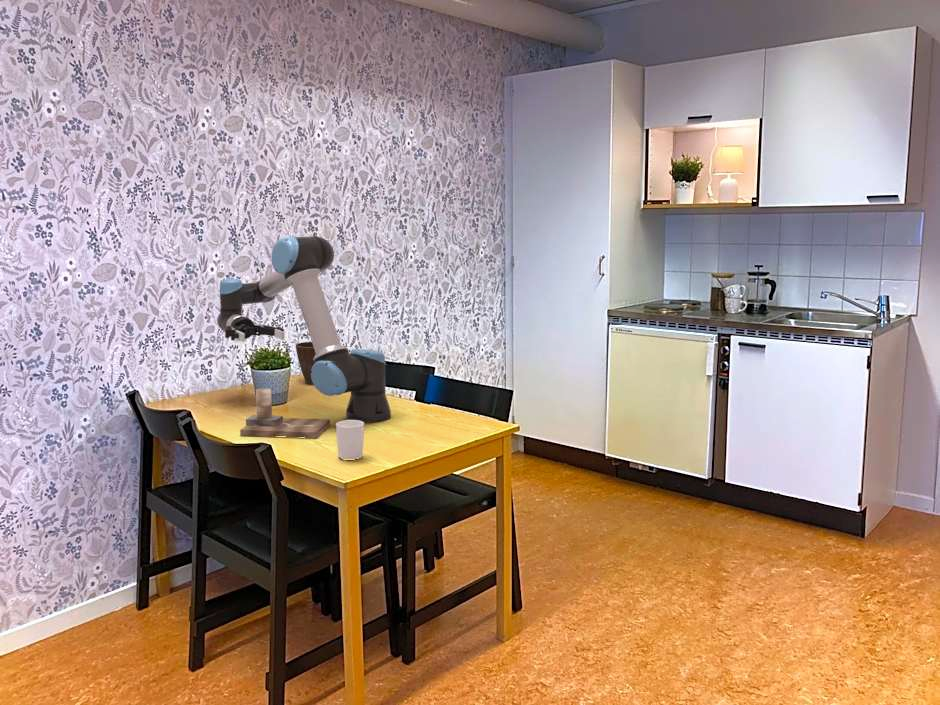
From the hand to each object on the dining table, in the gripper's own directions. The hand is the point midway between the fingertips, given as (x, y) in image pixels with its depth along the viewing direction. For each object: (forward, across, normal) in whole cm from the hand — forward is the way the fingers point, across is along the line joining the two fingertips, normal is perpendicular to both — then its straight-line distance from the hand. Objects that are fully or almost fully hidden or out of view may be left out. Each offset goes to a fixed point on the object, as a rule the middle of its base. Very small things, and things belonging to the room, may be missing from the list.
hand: (263, 336), depth 265 cm
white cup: (+56, -4, -26) cm, 61 cm away
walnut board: (+19, -1, -27) cm, 33 cm away
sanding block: (+14, +5, -25) cm, 29 cm away
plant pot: (-42, -39, -28) cm, 64 cm away
